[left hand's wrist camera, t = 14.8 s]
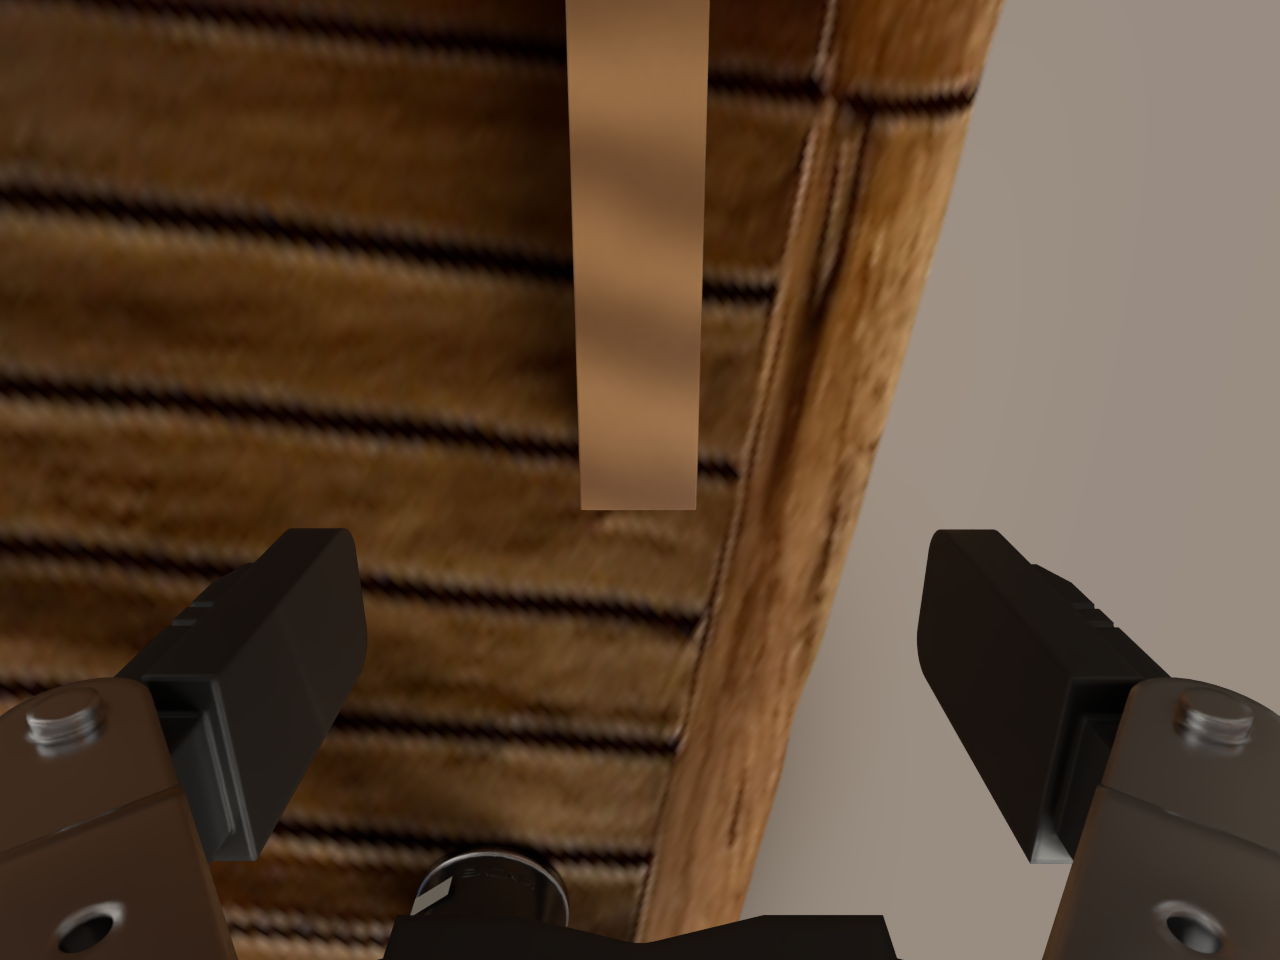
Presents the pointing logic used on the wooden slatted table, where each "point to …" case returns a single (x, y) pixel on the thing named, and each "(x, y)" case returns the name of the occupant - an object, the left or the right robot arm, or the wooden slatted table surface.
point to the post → (637, 245)
